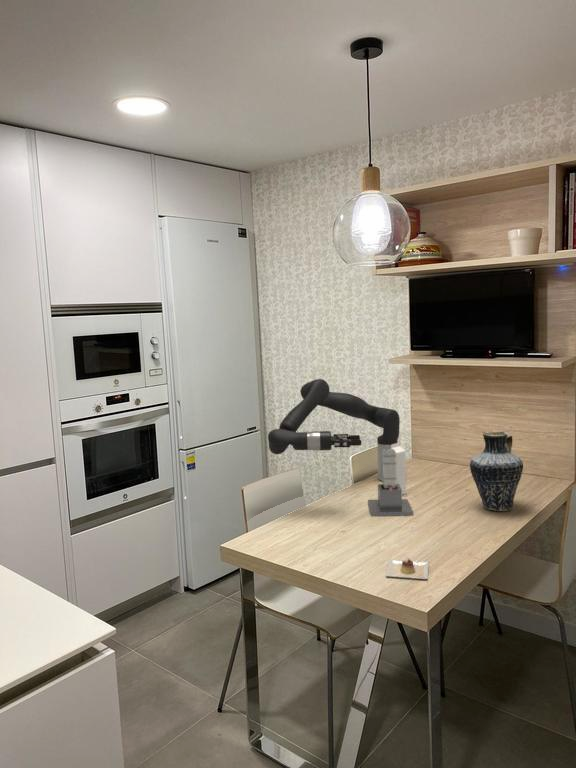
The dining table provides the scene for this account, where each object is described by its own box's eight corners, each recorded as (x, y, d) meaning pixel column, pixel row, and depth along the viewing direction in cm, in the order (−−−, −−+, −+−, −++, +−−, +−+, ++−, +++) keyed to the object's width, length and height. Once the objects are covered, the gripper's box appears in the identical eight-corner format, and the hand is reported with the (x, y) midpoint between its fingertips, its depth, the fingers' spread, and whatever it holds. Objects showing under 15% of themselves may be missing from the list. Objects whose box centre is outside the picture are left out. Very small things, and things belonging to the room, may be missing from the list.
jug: (511, 519, 225) (512, 439, 221) (461, 510, 237) (461, 434, 234) (531, 505, 240) (531, 430, 237) (483, 496, 253) (483, 425, 249)
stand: (367, 503, 250) (367, 479, 249) (407, 502, 249) (407, 478, 248) (371, 516, 234) (370, 490, 233) (413, 515, 233) (412, 490, 232)
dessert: (428, 565, 189) (428, 550, 188) (427, 582, 177) (427, 566, 177) (389, 562, 192) (389, 548, 191) (385, 579, 180) (385, 563, 180)
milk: (406, 493, 261) (405, 443, 258) (397, 497, 257) (397, 445, 254) (394, 491, 266) (394, 441, 263) (385, 494, 261) (385, 443, 259)
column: (383, 503, 244) (382, 449, 241) (395, 503, 244) (394, 449, 241) (384, 507, 239) (383, 452, 237) (396, 506, 239) (395, 451, 236)
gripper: (318, 435, 232) (361, 434, 231) (318, 428, 246) (359, 427, 246) (319, 454, 233) (362, 453, 232) (319, 446, 247) (359, 445, 246)
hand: (360, 440), depth 239 cm, fingers open, 8 cm apart
